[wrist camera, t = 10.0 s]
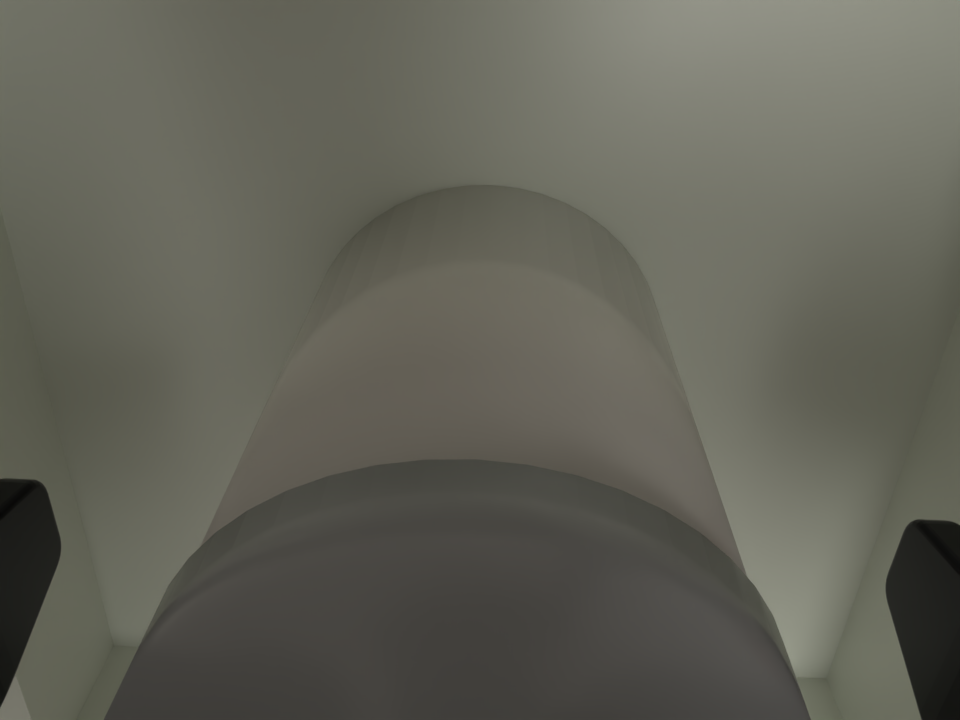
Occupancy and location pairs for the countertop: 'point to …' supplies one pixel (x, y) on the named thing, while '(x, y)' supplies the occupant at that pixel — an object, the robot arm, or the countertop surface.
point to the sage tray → (467, 162)
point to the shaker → (470, 502)
